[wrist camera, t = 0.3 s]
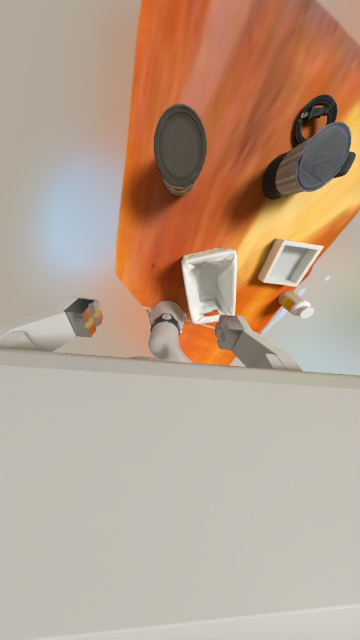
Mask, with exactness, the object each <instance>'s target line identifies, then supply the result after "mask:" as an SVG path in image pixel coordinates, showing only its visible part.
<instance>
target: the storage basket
mask: <svg viewBox="0 0 360 640" xmlns="http://www.w3.org/2000/svg"><path fill="white" fill-rule="evenodd" d="M181 266H182V272H183V279H184V285H185V291H186V297H187V302H188V307H189V312H190V316H191V320H192V323H194V324H202V323H209V322H215V321H219V317H220V315H221V314H222V315H232V316H234V315H235V301H236V273H237V256H236V251H235V250H233V249H222V248H215V249H210V250H206V251H201V252H197V253H193V254H188V255H185V256H183V259H182V261H181ZM215 311H218V312H219V315H213V316H209V317H204V316H203V314H205V313H209V312H215Z"/></svg>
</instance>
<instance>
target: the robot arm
mask: <svg viewBox="0 0 360 640" xmlns="http://www.w3.org/2000/svg"><path fill="white" fill-rule="evenodd" d="M99 307H100V303H99V301H98V300H93V299H86V298H78V297H69V298H68V299H67V300H65V301H64V302H63V303H61V304H60V305H59V306H58V307H56V308H55V309H54V310H52V311H51V310H49V311H46V312H42V313H39V314H35V315H32V316H29V317H26V318H22V319H19V320H15V321H12V322H9V323H6V324H2V325H0V640H360V376H356V375H343V374H330V373H317V372H303V371H302V369H301V368H300V367H299V366H298V364H297V363H296V362H295V361H294V359H293V358H292V357H291V355H289V354H288V353H286V352H285V351H283V350H282V349H280V348H279V347H277V346H276V345H274V344H273V343H271V342H270V341H268V340H267V339H265V338H264V337H262V336H261V335H259V334H258V333H256V332H253V331H252V329H251V328H250V326H249V325H248V323H247V322H246V320H245V318H244V317H242V316H232V315H222V314H221V315H220V317H219V323H217V324H216V327H215V335H216V337H217V338H218V341H217V342H218V345H219V348H220V349H227V350H231V351H232V352H233V353H234V354H235V355H236V356H237V357H238V358H239V359H240V360H241V362H242V363H243V364H244V365H245V366H246V367H238V366H226V365H213V364H200V363H194V362H192V361H191V360H190V359H189V358H188V357H187V356H186V355H185V354H184V353H183V351H182V350H181V347H180V344H179V335H180V334H181V333H182V329H183V324H184V322H185V320H186V318H187V314H186V313H185V312H184V311H183V310H182V309H181V307H180V306H179V305H178V304H177V303H175V302H173V301H161V302H159V303H157V304H156V305H155V306H154V307H153V308H152V309H150V310H148V315H149V319H150V323H151V335H150V339H149V349H150V351H151V352H152V353H153V355H154V356H156V357H157V358H151V357H130V358H122V357H108V356H96V355H83V354H69V353H57V352H52V351H54V350H56V349H57V348H59V347H61V346H62V345H64V344H65V343H67V342H69V341H70V340H72V339H74V338H75V337H76V336H81V337H91V336H92V335H93V334H94V332H95V331H96V327H97V326H99V325H100V324H101V322H102V319H103V316H102V311H100V310H99Z"/></svg>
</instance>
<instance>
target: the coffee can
mask: <svg viewBox="0 0 360 640" xmlns="http://www.w3.org/2000/svg"><path fill="white" fill-rule="evenodd" d="M206 151H207V139H206V133H205V128H204V125H203V123H202V120H201V118H200V117H199V115H198V114H197V113H196V111H195V110H194V109H192V108H191V107H190V106H187V105H185V104H176V105H173V106H171V107H169V108H168V109H167V110H166V111H165V112H164V113H163V115H162V116H161V118H160V120H159V122H158V124H157V127H156V131H155V136H154V154H155V160H156V163H157V166H158V169H159V171H160V173H161V174H162V177H163V181H164V183H165V185H166V187H167V188H168V190H169V191H170V192H172V193H173V194H175V195H184V194H187V193H188V192H189V191H191V189H192V188H193V187H194V185H195V183H196V180H197V178H198V175H199V174H200V172H201V170H202V168H203V165H204V162H205V158H206Z"/></svg>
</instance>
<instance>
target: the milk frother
mask: <svg viewBox="0 0 360 640" xmlns="http://www.w3.org/2000/svg"><path fill="white" fill-rule="evenodd" d="M317 105H323V107H322V108H314V106H317ZM324 106H325V108H324ZM325 115H327V123H326V126H325V127H323V128H322V129H320V130H319V131H318V132H317V133H316V134H315V135H314V136H312V137H311V138H309V139H308V140H307V139H305V138H304V137H303V136H302V133H301V125H302V121H303V119H305V118H306V117H307V120H306V123H307V122H308V121H309V120H312V119H315V118H319V117H320V116H325ZM336 117H337V105H336V102H335V100H334V99H333V98H332V97H331V96H329V95H326V94H324V95H320V96H317V97H316V98H314V99H313V100H311V101H310V102H309V103H308V104H307V105H306V107H305V108H304V109H303V111H302V113H301V114H300V116H299V119H298V121H297V124H296V128H295V140H296V143H297V144H298V146H297V147H295V148H294V149H292V150H290V151H289V152H287V153H284V154H281V155H279V156H278V157H277V158H275V159H274V160H273V161H272V163H271V164H270V165H269V167H268V168H267V170H266V173H265V175H264V179H263V192H264V194H265V196H266V197H267V198H269V199H278V198H281V197H282V196H286V195H290V194H295V193H299V192H303V191H307V192H310V191H315V190H317V189H319V188H321V187H323V186H324V185H326V184H327V183H328V182H329V181H330V180H331V179H332V178H336V177H341V176H343V175H345V174H346V173H347V172H348V170H349V169H350V167H351V165H352V163H353V161H354V159H355V156H356V154H355V153H354V152H349V149H350V145H351V132H350V129H349V127H348V126H347V125H346V124H345V123H343V122H335V120H336Z"/></svg>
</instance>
